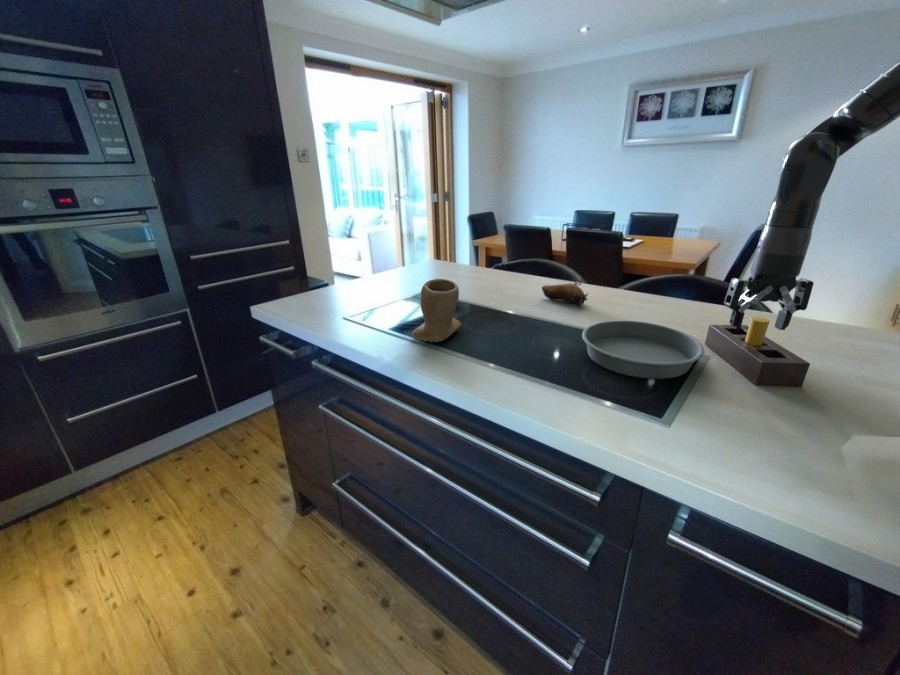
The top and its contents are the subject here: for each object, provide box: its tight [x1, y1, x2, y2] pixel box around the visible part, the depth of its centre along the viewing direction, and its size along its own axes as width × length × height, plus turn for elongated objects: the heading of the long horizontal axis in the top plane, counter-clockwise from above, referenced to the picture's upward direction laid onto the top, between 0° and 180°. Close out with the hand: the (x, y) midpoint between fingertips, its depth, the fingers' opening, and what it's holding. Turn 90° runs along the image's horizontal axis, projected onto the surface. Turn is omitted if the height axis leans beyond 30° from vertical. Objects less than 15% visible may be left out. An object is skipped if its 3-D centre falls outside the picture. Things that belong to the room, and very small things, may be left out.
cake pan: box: [581, 320, 705, 380], centre depth 87 cm, size 25×25×4 cm
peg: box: [745, 316, 770, 346], centre depth 82 cm, size 3×3×10 cm
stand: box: [704, 324, 811, 388], centre depth 83 cm, size 8×20×5 cm, turn 174°
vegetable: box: [541, 276, 589, 308], centre depth 126 cm, size 16×11×10 cm
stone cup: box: [411, 278, 462, 343], centre depth 101 cm, size 15×12×15 cm
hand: (757, 328), depth 81 cm, fingers open, 8 cm apart
